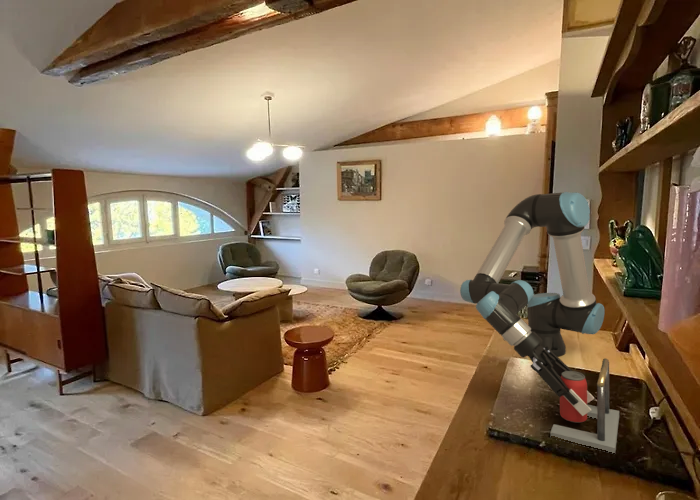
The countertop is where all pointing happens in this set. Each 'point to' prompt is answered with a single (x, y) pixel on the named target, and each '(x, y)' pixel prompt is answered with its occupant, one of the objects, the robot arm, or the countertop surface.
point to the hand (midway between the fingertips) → (588, 406)
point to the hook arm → (602, 399)
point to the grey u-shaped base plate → (591, 438)
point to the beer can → (579, 386)
